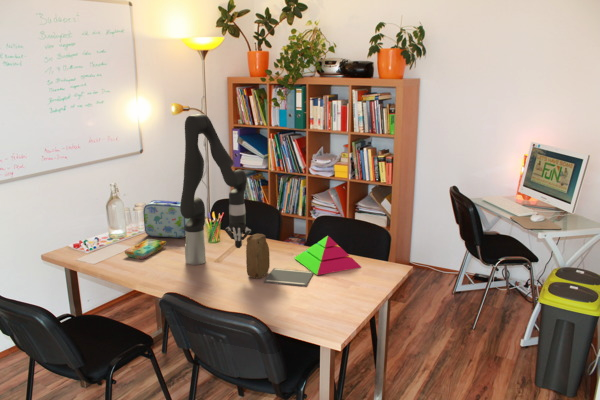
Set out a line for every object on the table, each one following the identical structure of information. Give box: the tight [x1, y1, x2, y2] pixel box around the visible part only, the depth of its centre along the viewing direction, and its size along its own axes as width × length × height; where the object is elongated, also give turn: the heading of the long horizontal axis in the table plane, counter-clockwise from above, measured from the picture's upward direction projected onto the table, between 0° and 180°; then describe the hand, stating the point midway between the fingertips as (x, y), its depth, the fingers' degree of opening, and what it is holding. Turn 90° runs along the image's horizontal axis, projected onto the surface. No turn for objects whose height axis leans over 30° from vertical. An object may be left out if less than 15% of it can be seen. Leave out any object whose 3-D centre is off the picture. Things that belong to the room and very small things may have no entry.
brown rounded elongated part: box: [245, 233, 271, 279], centre depth 251 cm, size 11×8×20 cm
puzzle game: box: [124, 238, 167, 260], centre depth 283 cm, size 12×5×20 cm
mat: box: [263, 267, 314, 288], centre depth 250 cm, size 20×16×1 cm
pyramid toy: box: [294, 235, 362, 276], centre depth 266 cm, size 25×25×14 cm
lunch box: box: [143, 199, 190, 239], centre depth 308 cm, size 26×11×21 cm, turn 80°
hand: (238, 247), depth 252 cm, fingers closed
